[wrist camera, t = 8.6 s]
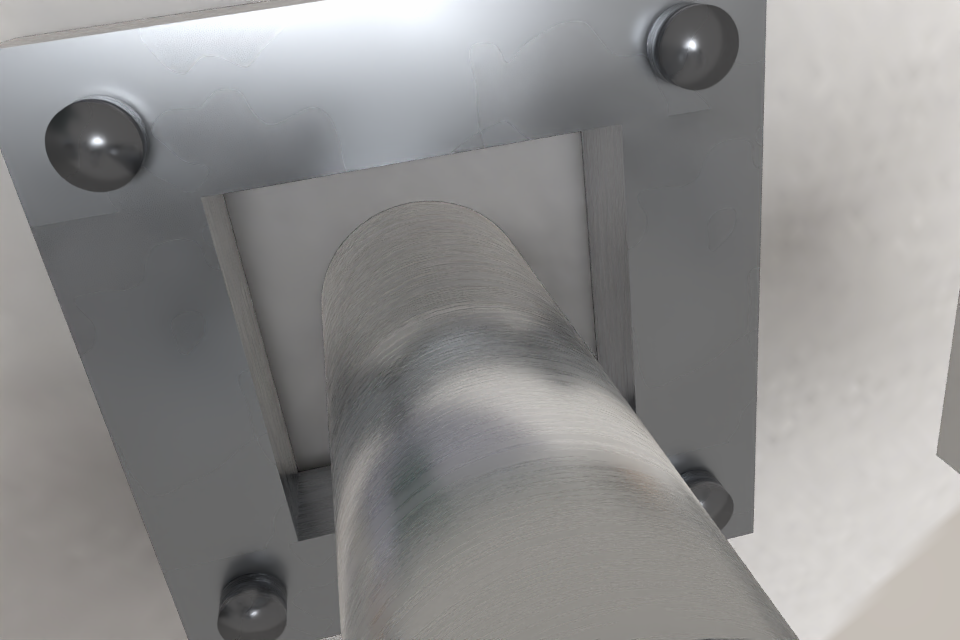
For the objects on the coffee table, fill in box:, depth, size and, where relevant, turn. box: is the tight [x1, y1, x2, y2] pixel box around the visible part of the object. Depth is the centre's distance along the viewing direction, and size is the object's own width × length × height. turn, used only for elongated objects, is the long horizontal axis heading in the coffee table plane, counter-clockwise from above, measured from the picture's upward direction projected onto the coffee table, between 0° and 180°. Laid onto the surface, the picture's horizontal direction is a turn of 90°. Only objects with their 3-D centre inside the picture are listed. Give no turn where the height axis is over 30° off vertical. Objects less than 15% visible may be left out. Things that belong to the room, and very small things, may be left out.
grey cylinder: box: [321, 201, 799, 640], centre depth 10 cm, size 5×5×12 cm
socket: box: [0, 0, 766, 640], centre depth 15 cm, size 11×11×3 cm
